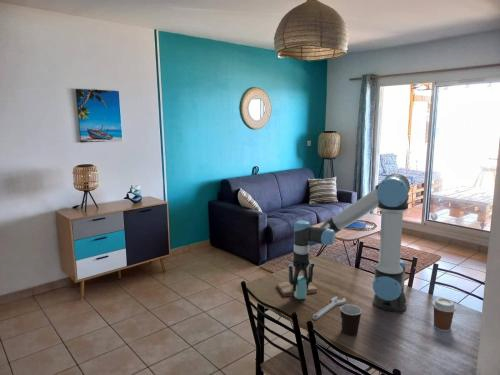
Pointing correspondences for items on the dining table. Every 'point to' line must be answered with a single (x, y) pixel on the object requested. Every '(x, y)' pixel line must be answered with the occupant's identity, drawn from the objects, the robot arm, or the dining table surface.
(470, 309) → the dining table surface
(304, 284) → the light blue block
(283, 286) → the walnut board
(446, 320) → the coffee cup
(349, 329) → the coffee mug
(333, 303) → the adjustable wrench
